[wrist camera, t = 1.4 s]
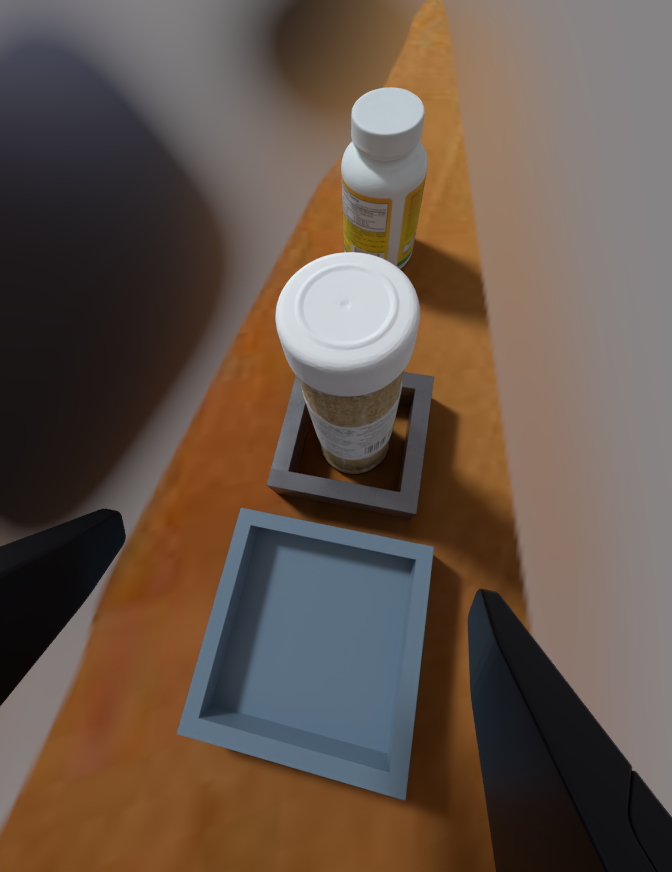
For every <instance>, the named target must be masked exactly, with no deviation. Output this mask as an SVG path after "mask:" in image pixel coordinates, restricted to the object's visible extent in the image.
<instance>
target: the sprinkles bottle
mask: <svg viewBox="0 0 672 872" xmlns="http://www.w3.org/2000/svg"><path fill="white" fill-rule="evenodd" d="M419 319H420V307H419V300H418V296H417V293H416V291H415V288H414V286H413V285H412V283H411V282H410V280H409V279H408V277H407V276H406V275H405V274H404V273H403V272H402V271H401V270H400V269H399V268H397V267H396V266H395V265H393V264H392V263H390V262H388V261H386V260H384V259H382V258H380V257H377V256H374V255H370V254H365V253H356V252H345V253H336V254H332V255H327V256H324V257H321V258H319V259H317V260H315V261H313V262H310V263H309V264H307V265H306V266H304V267H303V268H301V269H300V270H299V271H298V272H296V273H295V274H294V275H293V276H292V277H291V278H290V280H289V281H288V282H287V284H286V285H285V287H284V288H283V290H282V292H281V294H280V297H279V300H278V303H277V307H276V326H277V331H278V335H279V338H280V341H281V344H282V348H283V350H284V353H285V356H286V359H287V361H288V363H289V365H290V367H291V369H292V370H293V372H294V373H295V374H296V375H297V376H298V378H299V381H300V383H301V387H302V392H303V396H304V399H305V402H306V405H307V408H308V411H309V413H310V416H311V419H312V422H313V425H314V428H315V431H316V434H317V436H318V439H319V440H320V445H321V450H322V454H323V455H324V457H325V458H326V460H327V461H328V463H329V464H331V465H332V466H333V467H334V468H336V469H337V470H339V471H341V472H345V473H349V474H359V473H364V472H368V471H370V470H371V469H373V468H375V467H376V466H377V465H378V464H379V463H381V462H382V461H383V459H384V458H385V456H386V454H387V452H388V449H389V442H390V436H391V433H392V429H393V425H394V421H395V417H396V412H397V408H398V403H399V399H400V394H401V389H402V376H403V372H404V369H405V368H406V366H407V365H408V363H409V361H410V359H411V356H412V353H413V350H414V345H415V341H416V336H417V331H418V325H419Z"/></svg>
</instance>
